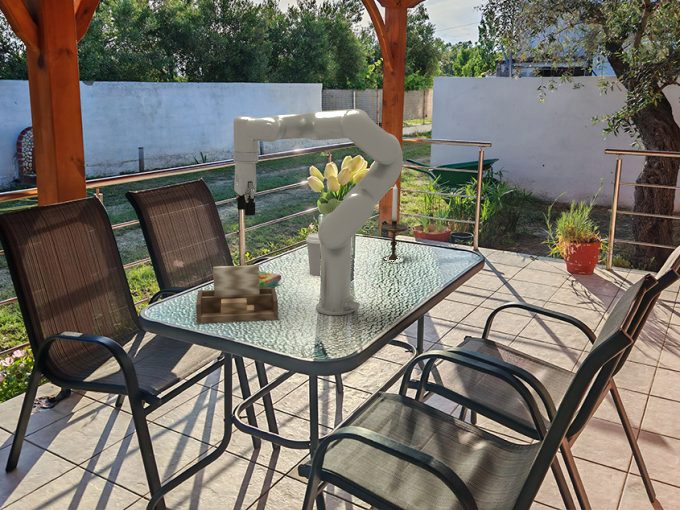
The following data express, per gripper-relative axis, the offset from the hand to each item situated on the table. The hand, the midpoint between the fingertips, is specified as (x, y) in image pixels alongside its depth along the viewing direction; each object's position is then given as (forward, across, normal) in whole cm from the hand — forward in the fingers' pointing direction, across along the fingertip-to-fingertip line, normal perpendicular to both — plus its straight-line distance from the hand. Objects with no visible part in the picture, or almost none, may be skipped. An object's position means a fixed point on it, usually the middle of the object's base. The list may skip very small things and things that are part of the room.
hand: (246, 212), depth 203 cm
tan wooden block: (+30, +10, -5) cm, 32 cm away
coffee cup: (+31, -29, +35) cm, 55 cm away
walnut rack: (+31, +9, -5) cm, 33 cm away
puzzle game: (+32, -18, +6) cm, 37 cm away
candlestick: (+30, -36, +71) cm, 85 cm away
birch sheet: (+30, +4, -4) cm, 31 cm away
